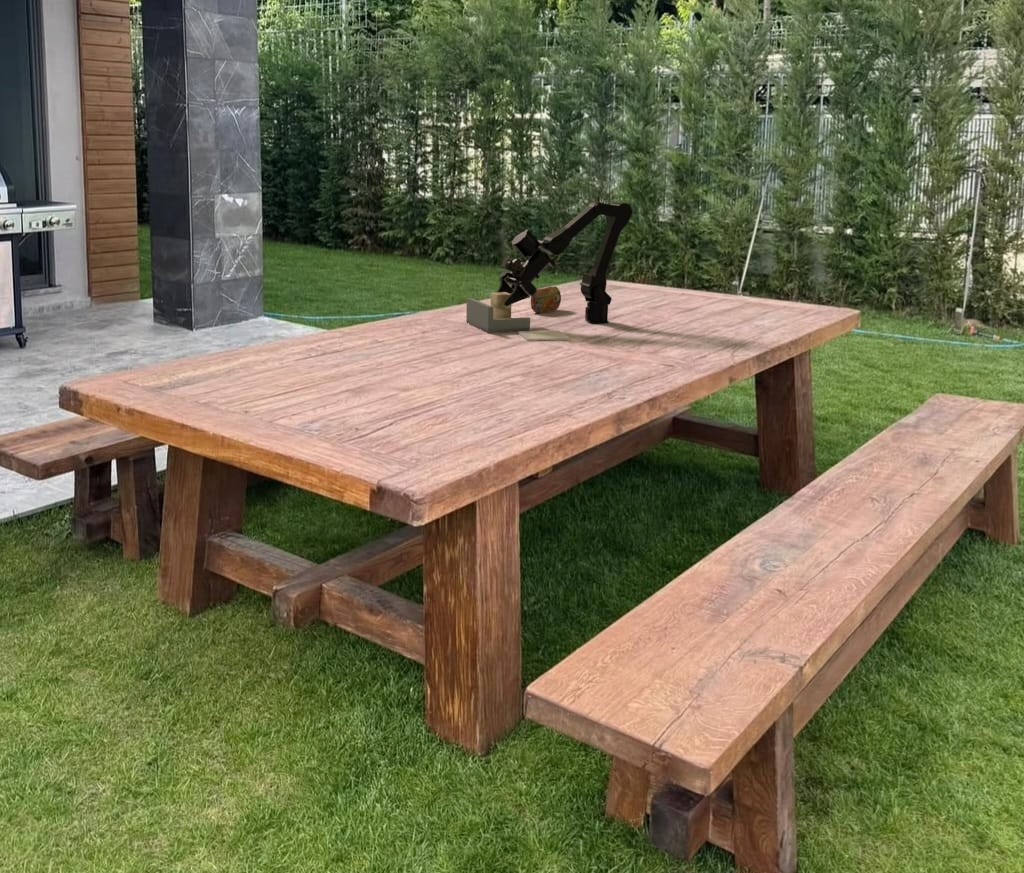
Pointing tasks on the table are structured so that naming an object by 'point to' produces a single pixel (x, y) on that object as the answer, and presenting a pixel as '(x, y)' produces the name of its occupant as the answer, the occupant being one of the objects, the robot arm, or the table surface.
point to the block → (500, 305)
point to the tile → (543, 335)
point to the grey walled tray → (483, 319)
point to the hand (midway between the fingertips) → (499, 303)
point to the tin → (546, 300)
